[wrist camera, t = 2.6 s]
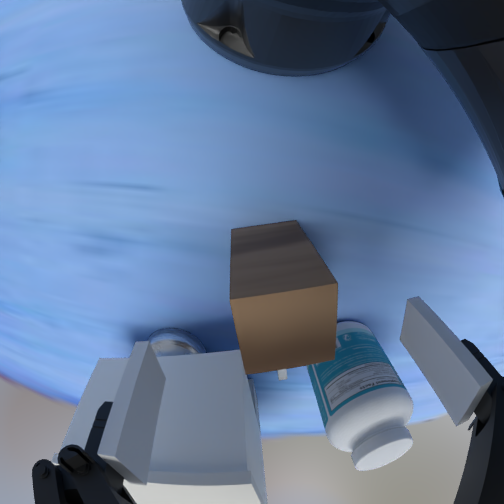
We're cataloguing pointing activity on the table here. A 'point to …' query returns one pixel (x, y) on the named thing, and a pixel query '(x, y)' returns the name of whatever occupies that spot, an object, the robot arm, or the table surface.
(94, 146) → the table surface
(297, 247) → the wood grain block
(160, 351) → the silver shallow dome
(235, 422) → the cabinet
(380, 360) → the pill bottle
